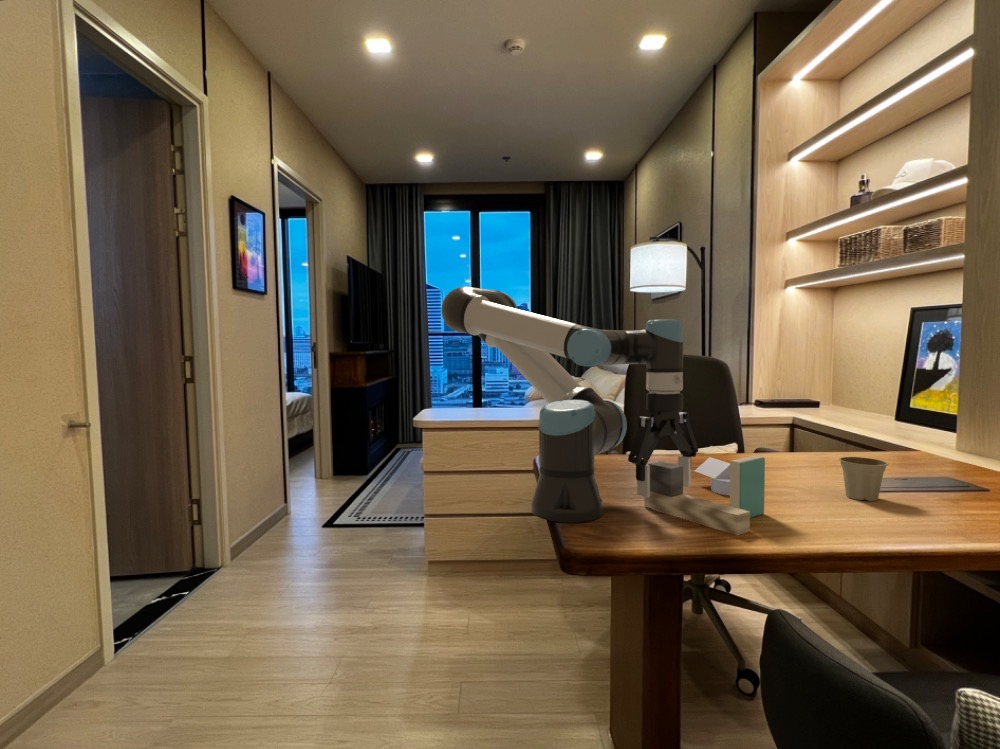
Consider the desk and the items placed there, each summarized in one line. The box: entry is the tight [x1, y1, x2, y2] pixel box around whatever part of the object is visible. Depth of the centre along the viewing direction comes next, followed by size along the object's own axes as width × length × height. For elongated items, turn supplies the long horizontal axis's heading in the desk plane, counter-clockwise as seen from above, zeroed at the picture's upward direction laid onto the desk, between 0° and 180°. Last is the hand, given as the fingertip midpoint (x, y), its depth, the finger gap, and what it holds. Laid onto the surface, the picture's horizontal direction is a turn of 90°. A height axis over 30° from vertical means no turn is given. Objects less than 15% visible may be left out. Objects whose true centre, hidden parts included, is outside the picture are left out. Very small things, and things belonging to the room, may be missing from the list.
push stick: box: [643, 461, 751, 536], centre depth 110 cm, size 22×4×10 cm, turn 34°
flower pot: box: [838, 456, 889, 502], centre depth 124 cm, size 9×9×9 cm
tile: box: [729, 454, 766, 519], centre depth 111 cm, size 9×2×12 cm, turn 125°
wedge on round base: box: [694, 456, 730, 497], centre depth 132 cm, size 9×7×13 cm
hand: (664, 490), depth 116 cm, fingers open, 13 cm apart
